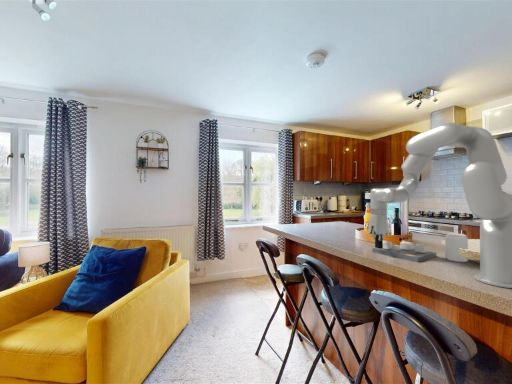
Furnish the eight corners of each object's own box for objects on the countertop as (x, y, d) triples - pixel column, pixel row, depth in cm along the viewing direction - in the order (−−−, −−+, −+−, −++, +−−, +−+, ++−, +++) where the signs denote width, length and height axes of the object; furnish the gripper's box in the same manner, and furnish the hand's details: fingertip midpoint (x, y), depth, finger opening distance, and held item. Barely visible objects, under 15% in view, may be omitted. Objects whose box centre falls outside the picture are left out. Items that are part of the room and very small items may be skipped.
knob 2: (413, 249, 124) (413, 242, 124) (409, 250, 122) (409, 243, 122) (404, 247, 128) (404, 240, 128) (400, 248, 126) (400, 241, 126)
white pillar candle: (459, 263, 106) (459, 236, 106) (440, 258, 114) (440, 233, 114) (472, 262, 109) (472, 235, 109) (453, 257, 116) (453, 232, 116)
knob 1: (391, 248, 126) (391, 241, 126) (387, 249, 124) (387, 242, 124) (383, 246, 130) (383, 239, 130) (379, 247, 128) (379, 240, 128)
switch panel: (436, 256, 118) (436, 251, 118) (417, 262, 109) (417, 257, 109) (391, 247, 137) (391, 243, 137) (372, 252, 128) (372, 247, 128)
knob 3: (428, 251, 118) (428, 244, 118) (424, 253, 116) (424, 245, 116) (418, 250, 122) (418, 243, 122) (414, 251, 120) (414, 243, 120)
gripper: (380, 211, 131) (380, 244, 131) (363, 212, 123) (363, 248, 123) (394, 212, 125) (394, 247, 125) (377, 213, 117) (377, 251, 117)
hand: (378, 247), depth 124 cm, fingers closed
